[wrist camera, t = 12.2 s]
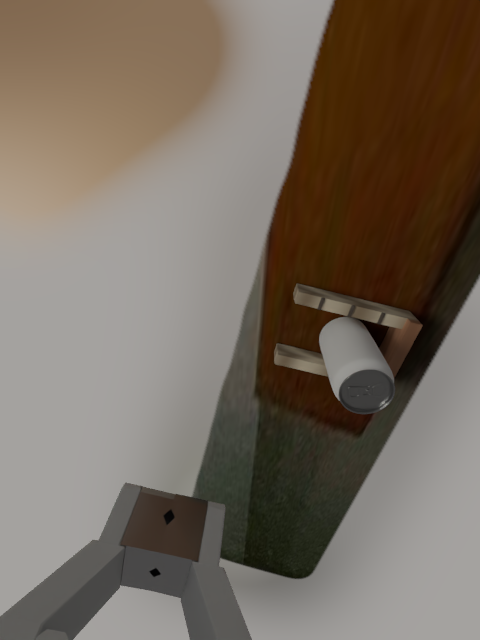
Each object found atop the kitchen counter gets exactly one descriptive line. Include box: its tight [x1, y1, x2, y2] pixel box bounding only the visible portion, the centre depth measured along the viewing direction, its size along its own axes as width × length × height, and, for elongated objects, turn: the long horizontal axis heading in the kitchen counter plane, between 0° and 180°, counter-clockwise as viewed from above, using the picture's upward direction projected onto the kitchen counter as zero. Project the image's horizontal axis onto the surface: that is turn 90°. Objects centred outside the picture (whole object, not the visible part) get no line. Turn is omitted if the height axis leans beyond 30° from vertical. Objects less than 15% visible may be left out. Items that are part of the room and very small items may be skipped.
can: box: [319, 317, 395, 414], centre depth 40 cm, size 6×6×12 cm
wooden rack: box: [274, 284, 423, 378], centre depth 43 cm, size 15×10×4 cm
